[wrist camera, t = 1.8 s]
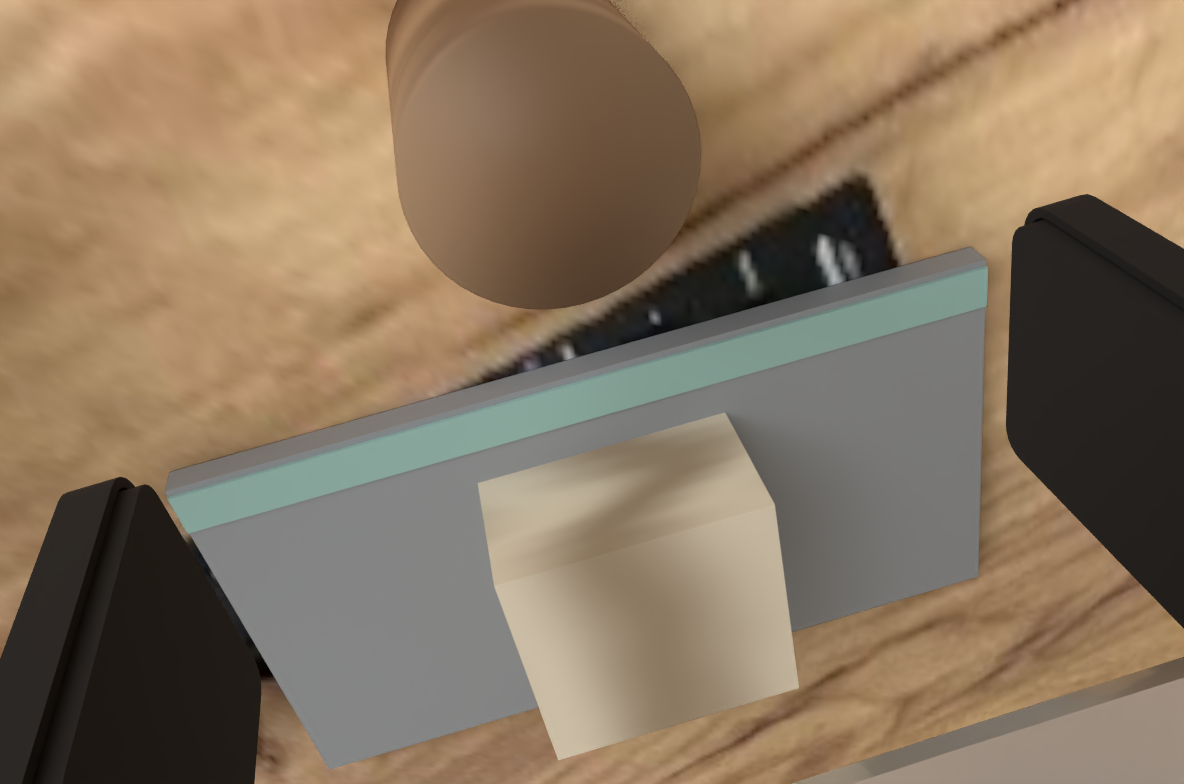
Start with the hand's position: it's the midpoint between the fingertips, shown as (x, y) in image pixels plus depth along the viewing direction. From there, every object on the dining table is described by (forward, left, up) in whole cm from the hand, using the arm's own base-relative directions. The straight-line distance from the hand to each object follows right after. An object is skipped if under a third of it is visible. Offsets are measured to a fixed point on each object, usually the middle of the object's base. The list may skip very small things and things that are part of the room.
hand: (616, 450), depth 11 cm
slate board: (-1, +14, -14) cm, 20 cm away
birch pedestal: (-1, +14, -13) cm, 19 cm away
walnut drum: (-1, 0, -14) cm, 14 cm away
